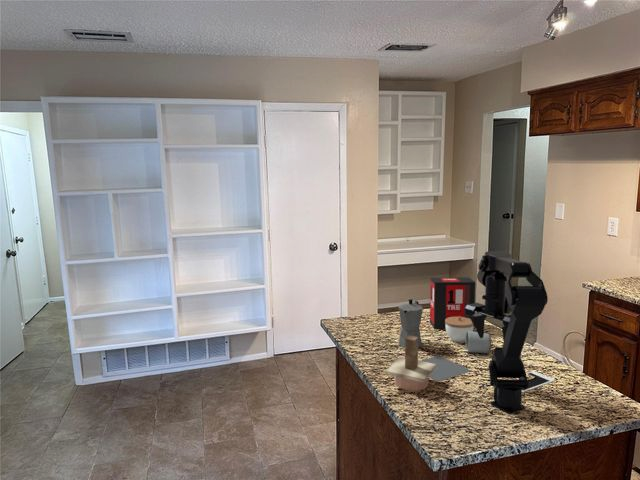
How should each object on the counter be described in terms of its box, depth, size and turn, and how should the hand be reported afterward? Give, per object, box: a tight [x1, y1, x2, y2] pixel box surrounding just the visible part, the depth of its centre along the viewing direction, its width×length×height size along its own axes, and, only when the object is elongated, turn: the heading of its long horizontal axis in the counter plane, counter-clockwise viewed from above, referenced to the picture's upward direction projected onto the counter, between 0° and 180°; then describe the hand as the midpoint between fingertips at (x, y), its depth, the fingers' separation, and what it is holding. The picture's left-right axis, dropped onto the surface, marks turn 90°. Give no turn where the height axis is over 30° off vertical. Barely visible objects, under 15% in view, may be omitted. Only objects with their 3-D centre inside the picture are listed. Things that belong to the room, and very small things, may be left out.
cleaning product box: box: [429, 276, 476, 330], centre depth 191 cm, size 16×9×20 cm, turn 88°
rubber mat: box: [420, 355, 472, 382], centre depth 149 cm, size 15×15×1 cm
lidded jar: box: [445, 316, 475, 344], centre depth 175 cm, size 11×11×9 cm
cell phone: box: [522, 370, 556, 394], centre depth 139 cm, size 8×16×1 cm, turn 118°
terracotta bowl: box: [393, 376, 429, 392], centre depth 138 cm, size 10×10×4 cm
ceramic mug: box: [465, 330, 492, 354], centre depth 164 cm, size 11×8×8 cm
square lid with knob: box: [385, 336, 436, 383], centre depth 137 cm, size 12×12×10 cm
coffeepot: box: [398, 298, 424, 348], centre depth 170 cm, size 15×9×18 cm, turn 150°
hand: (493, 342), depth 137 cm, fingers open, 9 cm apart
